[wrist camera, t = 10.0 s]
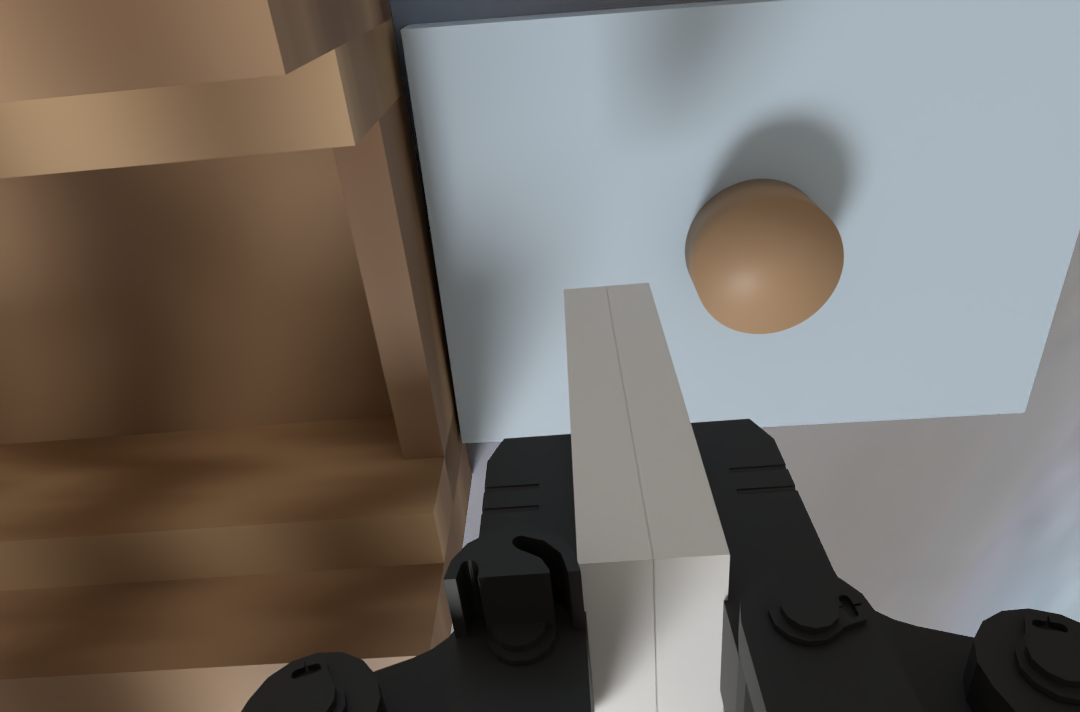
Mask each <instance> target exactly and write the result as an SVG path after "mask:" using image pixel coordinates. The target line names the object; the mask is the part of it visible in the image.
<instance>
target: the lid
mask: <svg viewBox="0 0 1080 712" xmlns="http://www.w3.org/2000/svg"><path fill="white" fill-rule="evenodd" d="M401 36H402V43H403V49H404V56H405V63H406V69H407V76H408V83H409V90H410V96H411V103H412V110H413V116H414V123H415V130H416V136H417V143H418V150H419V157H420V163H421V170H422V177H423V183H424V190H425V197H426V203H427V210H428V217H429V224H430V230H431V237H432V244H433V250H434V257H435V264H436V270H437V277H438V284H439V291H440V297H441V304H442V311H443V317H444V324H445V331H446V338H447V344H448V351H449V358H450V364H451V371H452V378H453V384H454V391H455V398H456V405H457V411H458V418H459V425H460V431H461V438H462V444H464V443H482V442H500V441H503V439H505V438H519V437H533V436H547V435H561V434H571V426H570V406H569V386H568V367H567V347H566V327H565V307H564V289H576V288H588V287H600V286H613V285H625V284H637V283H649V285H650V288H651V292H652V295H653V298H654V302H655V305H656V308H657V312H658V315H659V318H660V322H661V325H662V328H663V332H664V335H665V338H666V342H667V345H668V348H669V352H670V355H671V359H672V362H673V365H674V369H675V372H676V375H677V379H678V382H679V385H680V389H681V392H682V395H683V399H684V402H685V405H686V409H687V412H688V415H689V419H690V422H691V423H695V422H709V421H723V420H737V419H750V420H752V421H753V422H754V423H755V424H756V425H758V426H759V427H772V426H791V425H809V424H827V423H845V422H863V421H881V420H899V419H918V418H936V417H954V416H972V415H990V414H1008V413H1025V410H1026V406H1027V403H1028V400H1029V396H1030V393H1031V390H1032V386H1033V383H1034V380H1035V376H1036V373H1037V370H1038V366H1039V363H1040V360H1041V356H1042V353H1043V350H1044V346H1045V343H1046V340H1047V336H1048V333H1049V330H1050V326H1051V323H1052V320H1053V317H1054V313H1055V310H1056V307H1057V303H1058V300H1059V297H1060V293H1061V290H1062V287H1063V283H1064V280H1065V277H1066V273H1067V270H1068V267H1069V263H1070V260H1071V257H1072V253H1073V250H1074V247H1075V243H1076V240H1077V237H1078V233H1079V230H1080V0H723V1H710V2H697V3H684V4H671V5H658V6H645V7H632V8H618V9H605V10H592V11H579V12H566V13H553V14H540V15H527V16H514V17H500V18H487V19H474V20H461V21H448V22H435V23H422V24H409V25H407V26H406V27H404V28H402V29H401Z"/></svg>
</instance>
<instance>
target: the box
mask: <svg viewBox="0 0 1080 712" xmlns="http://www.w3.org/2000/svg"><path fill="white" fill-rule="evenodd" d="M471 479H472V474H471V468H470V462H469V456H468V451H467V445H466V443H464V444H462V438H461V431H460V425H459V418H458V411H457V405H456V398H455V391H454V384H453V378H452V371H451V364H450V358H449V351H448V344H447V338H446V331H445V324H444V317H443V311H442V304H441V297H440V291H439V284H438V278H437V272H436V267H435V261H434V255H433V249H432V244H431V238H430V232H429V226H428V221H427V215H426V209H425V204H424V198H423V192H422V186H421V181H420V175H419V169H418V163H417V158H416V152H415V146H414V140H413V135H412V129H411V123H410V117H409V112H408V106H407V100H406V94H405V89H404V83H403V77H402V71H401V66H400V60H399V54H398V48H397V43H396V37H395V31H394V25H393V20H392V14H391V8H390V2H389V0H0V712H241V711H242V709H243V708H244V706H245V704H246V703H247V701H248V700H249V699H250V697H251V696H252V695H253V694H254V693H255V692H256V690H257V689H258V688H259V687H260V686H261V685H262V684H263V682H264V681H265V680H266V679H267V678H268V677H269V676H271V675H272V674H274V673H275V672H277V671H278V670H280V669H281V668H283V667H284V666H286V665H287V664H289V663H290V662H292V661H294V660H297V659H300V658H303V657H306V656H309V655H312V654H315V653H321V652H344V653H346V654H349V655H352V656H354V657H357V658H359V659H362V660H363V661H364V662H365V663H366V664H367V665H368V666H369V667H370V669H371V670H372V671H373V672H374V671H377V670H379V669H382V668H385V667H388V666H391V665H394V664H397V663H399V662H402V661H405V660H408V659H411V658H414V657H416V656H418V655H420V654H422V653H425V652H427V651H429V650H431V649H433V648H434V647H436V646H437V645H438V644H440V643H441V642H443V641H444V640H445V639H447V638H448V637H449V636H450V633H451V626H452V618H451V614H450V609H449V605H448V600H447V595H446V591H445V586H444V582H443V579H444V576H445V574H446V571H447V569H448V567H449V564H450V562H451V560H452V559H453V558H454V557H455V556H456V555H457V554H458V553H459V552H460V551H461V550H462V545H463V538H464V531H465V523H466V516H467V509H468V501H469V494H470V487H471Z"/></svg>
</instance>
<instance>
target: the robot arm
mask: <svg viewBox="0 0 1080 712" xmlns="http://www.w3.org/2000/svg"><path fill="white" fill-rule="evenodd" d="M564 307H565V327H566V347H567V367H568V386H569V406H570V426H571V434H561V435H547V436H533V437H519V438H505V439H503V441H502V442H501V444H500V445H499V446H498V448H497V449H496V451H495V452H494V453H493V455H492V456H491V457H490V459H489V460H488V462H487V471H486V480H485V492H484V498H483V507H482V511H483V514H482V516H481V525H480V534H479V538H477V539H476V540H474V541H472V542H470V543H468V544H467V545H466V546H465V547H464V548H463V549H462V550H461V551H460V552H459V553H458V554H457V555H456V556H455V557H454V558H453V559H452V560H451V562H450V564H449V567H448V569H447V571H446V574H445V576H444V579H443V582H444V586H445V591H446V595H447V600H448V605H449V609H450V614H451V618H452V623H453V628H454V632H453V633H452V634H451V635H450V636H449V637H448V638H447V639H445V640H444V641H443V642H441V643H440V644H438V645H437V646H436V647H434V648H433V649H431V650H429V651H427V652H425V653H422V654H420V655H418V656H416V657H414V658H411V659H408V660H405V661H402V662H399V663H397V664H394V665H391V666H388V667H385V668H382V669H379V670H377V671H374V672H373V671H372V670H371V669H370V667H369V666H368V665H367V664H366V663H365V662H364V661H363V660H362V659H359V658H357V657H354V656H352V655H349V654H346V653H344V652H321V653H315V654H312V655H309V656H306V657H303V658H300V659H297V660H294V661H292V662H290V663H289V664H287V665H286V666H284V667H283V668H281V669H280V670H278V671H277V672H275V673H274V674H272V675H271V676H269V677H268V678H267V679H266V680H265V681H264V682H263V684H262V685H261V686H260V687H259V688H258V689H257V690H256V692H255V693H254V694H253V695H252V696H251V697H250V699H249V700H248V701H247V703H246V704H245V706H244V708H243V709H242V711H241V712H723V705H724V710H725V712H1080V623H1079V622H1077V621H1074V620H1072V619H1070V618H1067V617H1065V616H1063V615H1060V614H1055V613H1050V612H1044V611H1039V610H1034V609H1018V610H1008V611H1001V612H999V613H997V614H995V615H994V616H992V617H990V618H988V619H986V620H984V621H983V622H982V624H981V626H980V628H979V630H978V632H977V634H976V636H975V638H973V637H968V636H963V635H958V634H953V633H948V632H943V631H938V630H933V629H928V628H923V627H918V626H914V625H911V624H907V623H904V622H900V621H897V620H894V619H892V618H889V617H887V616H885V615H883V614H881V613H879V612H876V611H875V610H874V609H873V608H872V606H871V605H870V604H869V602H868V601H867V600H866V598H865V597H864V596H863V594H862V593H860V592H859V591H857V590H856V589H854V588H853V587H852V586H850V585H849V584H847V583H846V582H844V581H843V580H842V579H840V578H838V577H837V575H836V573H835V572H834V570H833V568H832V566H831V563H830V561H829V559H828V557H827V555H826V552H825V550H824V548H823V546H822V544H821V541H820V539H819V537H818V535H817V533H816V530H815V528H814V526H813V524H812V522H811V519H810V517H809V515H808V513H807V511H806V508H805V506H804V504H803V502H802V500H801V497H800V495H799V493H798V491H796V490H795V484H794V482H793V480H792V478H791V475H790V473H789V471H788V469H786V467H785V462H784V460H783V458H782V456H781V453H780V451H779V449H778V447H777V445H776V442H775V440H774V439H773V438H772V437H771V436H770V435H768V434H767V433H766V432H765V431H764V430H762V429H761V428H760V427H759V426H758V425H756V424H755V423H754V422H753V421H752V420H750V419H737V420H723V421H709V422H695V423H691V422H690V419H689V415H688V412H687V409H686V405H685V402H684V399H683V395H682V392H681V389H680V385H679V382H678V379H677V375H676V372H675V369H674V365H673V362H672V359H671V355H670V352H669V348H668V345H667V342H666V338H665V335H664V332H663V328H662V325H661V322H660V318H659V315H658V312H657V308H656V305H655V302H654V298H653V295H652V292H651V288H650V285H649V283H637V284H625V285H613V286H600V287H588V288H576V289H564Z"/></svg>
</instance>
